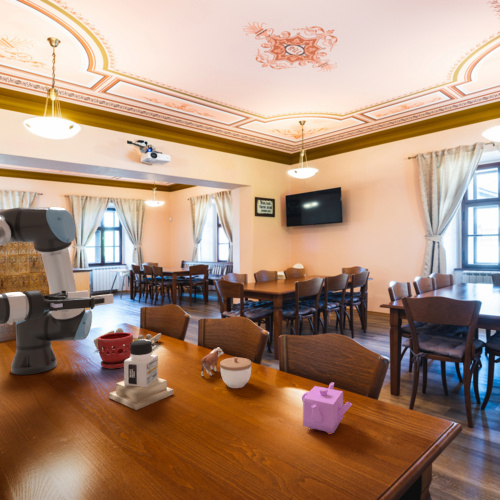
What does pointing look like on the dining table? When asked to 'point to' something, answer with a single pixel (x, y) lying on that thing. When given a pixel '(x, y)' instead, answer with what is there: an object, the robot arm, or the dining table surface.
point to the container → (140, 364)
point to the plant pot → (114, 349)
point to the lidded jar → (235, 371)
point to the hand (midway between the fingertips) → (100, 296)
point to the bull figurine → (210, 361)
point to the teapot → (323, 408)
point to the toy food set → (133, 338)
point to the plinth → (141, 403)
